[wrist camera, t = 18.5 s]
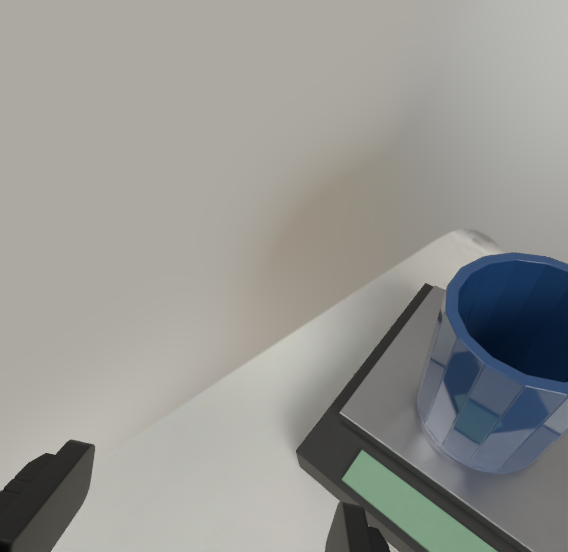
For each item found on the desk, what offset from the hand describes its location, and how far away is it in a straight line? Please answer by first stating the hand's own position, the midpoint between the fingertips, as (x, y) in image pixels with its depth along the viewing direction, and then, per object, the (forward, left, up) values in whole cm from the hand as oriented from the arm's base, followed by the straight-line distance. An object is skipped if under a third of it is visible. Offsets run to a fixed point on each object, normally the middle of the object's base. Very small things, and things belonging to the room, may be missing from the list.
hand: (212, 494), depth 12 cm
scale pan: (+5, +14, -10) cm, 18 cm away
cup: (+6, +13, -9) cm, 16 cm away
